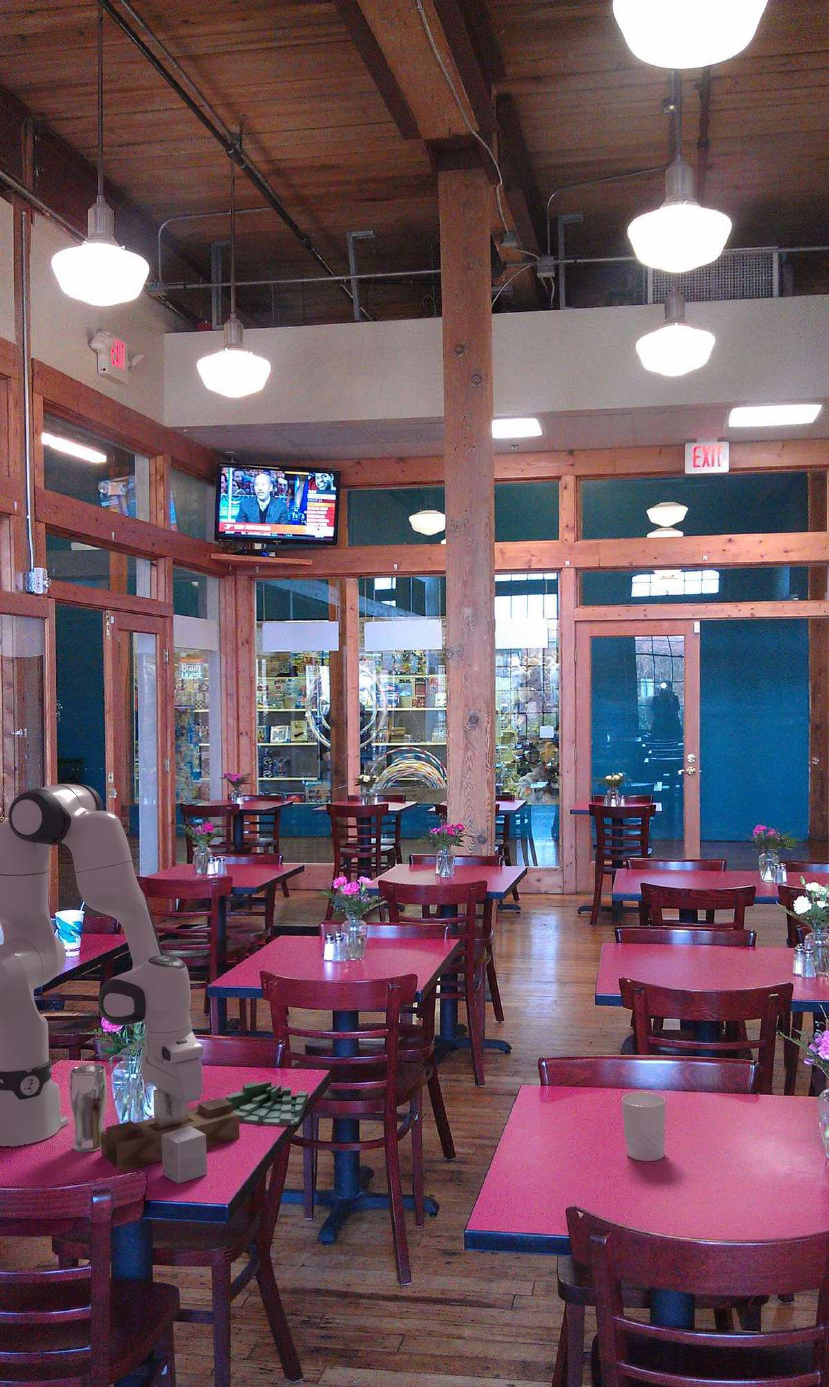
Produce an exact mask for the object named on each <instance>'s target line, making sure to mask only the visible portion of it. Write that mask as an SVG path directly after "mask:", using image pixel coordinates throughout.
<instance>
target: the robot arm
mask: <svg viewBox="0 0 829 1387" xmlns="http://www.w3.org/2000/svg"><path fill="white" fill-rule="evenodd" d="M7 818H8V819H5V820H3V821H2V822H1V823H0V926H1V930H2V935H3V942H2V943H0V1146H4V1148H6V1147H5V1146H10V1147H17V1146H18V1147H19V1145H20V1146H25V1145H24V1144H26V1145H29V1144H33V1143H34V1144H35V1143H37V1142H41V1141H43V1140H46V1139H49V1138H50V1137H52V1136H54V1135H56V1134H57V1133H58V1132H59V1130H60V1129H61V1128H62V1127H64V1126H67V1125H68V1124H69V1118H68V1116H65V1115H63V1114H62V1109H61V1108H62V1107H61V1106H62V1105H61V1098H60V1097H61V1096H60V1088H59V1087H60V1085H59V1084H58V1083H56V1082H55V1081H53V1080H52V1076H53V1075H52V1072H53V1071H52V1070H53V1065H52V1059H51V1058H50V1055H49V1054H50V1053H49V1051H50V1049H49V1048H50V1047H49V1046H50V1045H49V1023H48V1020H47V1018H46V1017H44V1015H43V1014H41V1013H40V1012H39V1010H38V1007H37V1005H36V1001H35V996H34V994H35V989H38V988H40V987H42V986H43V987H44V986H45V985H47V984H48V983H49V982H51V981H52V980H53V979H54V978H55V977H57V975H58V974H59V973H60V972H61V971H63V968H64V967H65V965H66V964H65V963H66V961H67V953H66V948H65V946H64V943H63V942H62V941H61V940H60V938H59V937H57V935H56V933H55V930H54V927H53V924H52V919H51V915H50V906H49V890H50V889H49V881H50V880H49V879H50V878H49V877H50V874H49V873H50V867H49V866H50V850H51V847H52V846H58V845H59V844H63V845H65V846H66V847H68V848H69V850H70V853H71V855H72V860H73V866H74V872H75V878H76V879H75V880H76V885H77V888H78V891H79V895H80V898H82V901H83V902H84V904H86V906H88V907H89V908H90V909H92V910H93V911H95V912H98V913H101V914H104V915H108V916H110V917H112V918H114V919H115V920H117V922H118V923H119V924H120V925H121V927H122V929H123V931H124V935H125V938H126V942H127V945H128V949H129V952H130V957H131V959H132V967H131V970H128V971H125V972H123V973H119V974H118V975H116V976H113V977H111V978H110V979H108V980H107V981H105V982H104V983H103V984H102V985H101V987H100V989H99V992H98V996H97V1005H98V1006H97V1007H98V1009H99V1012H100V1014H101V1015H102V1017H103V1018H104V1020H105V1021H107V1022H108V1023H110V1024H111V1025H114V1026H127V1025H133V1024H138V1023H142V1024H143V1025H144V1040H145V1043H144V1044H143V1045H142V1047H141V1055H140V1057H141V1058H140V1074H141V1078H142V1080H143V1081H145V1082H146V1083H148V1084H149V1085H150V1086H153V1087H155V1088H156V1090H157V1089H161V1090H162V1091H164V1092H165V1093H167V1094H169V1095H170V1096H171V1100H172V1104H171V1107H169V1111H170V1113H169V1115H170V1116H172V1117H173V1118H176V1117H180V1116H181V1106H182V1103H188V1104H189V1103H191V1102H195V1101H199V1100H200V1098H201V1096H202V1092H203V1066H202V1061H201V1059H200V1058H202V1057H204V1056H203V1055H204V1048H203V1045H202V1044H201V1043H200V1042H199V1040H198V1039H197V1038H196V1035H195V1033H194V1031H193V1027H192V1026H193V1025H192V1020H191V1016H190V1008H191V1004H192V1001H191V1000H192V997H191V983H190V982H191V981H190V975H189V969H188V967H187V964H186V963H185V962H184V961H183V960H182V959H181V958H179V957H176V956H172V955H165V954H164V950H163V948H162V944H161V941H160V938H159V935H158V931H157V927H156V924H155V920H154V917H153V913H152V910H151V907H150V904H149V902H148V899H147V897H146V895H145V893H144V892H143V890H142V888H141V887H140V884H139V881H138V879H137V875H136V872H135V867H134V863H133V858H132V854H131V850H130V849H131V848H130V845H129V841H128V838H127V835H126V832H125V829H124V827H123V824H122V822H121V820H120V818H119V817H118V815H116V814H115V813H113V812H110V811H107V810H104V804H103V799H102V798H101V796H100V794H99V793H98V792H97V791H96V790H95V789H94V788H92V787H91V786H88V785H87V784H82V783H77V782H76V783H75V782H74V783H57V784H51V785H48V786H44V787H43V786H42V787H39V788H31V789H28V790H26V791H24V792H22V793H20V794H19V795H18V796H17V797H15V799H13V801H12V802H11V804H10V806H9V808H8V813H7Z"/></svg>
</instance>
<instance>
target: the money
mask: <svg viewBox="0 0 829 1387" xmlns="http://www.w3.org/2000/svg"><path fill="white" fill-rule="evenodd" d="M224 1098H225V1100H226V1101H228V1102H230V1103H232V1104H233V1112H234V1113H236V1114H238V1115H239V1122H240V1123H241V1122H243V1123H246V1122H250V1123H249V1124H253V1123H254V1125H255V1124H256V1123H257V1124H256V1125H263V1124H267V1125H266V1126H297V1125H298V1124H299V1122H300V1119H301V1118H302V1116H303V1115H304V1113H305V1110H306V1107H308V1106H309V1091H297V1093H296V1095H292V1087H291V1086H284V1087H283V1090H282V1084H278V1085H272V1081H265V1082H261V1083H260V1082H254V1081H253V1082H248V1083H246V1084H244V1085H242V1090H240V1091H237V1092H233V1093H231V1094H228V1095H226V1096H224ZM258 1123H259V1124H258Z"/></svg>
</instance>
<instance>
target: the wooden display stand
mask: <svg viewBox="0 0 829 1387" xmlns="http://www.w3.org/2000/svg"><path fill="white" fill-rule="evenodd" d="M188 1119H189V1123H186V1124H182V1125H178V1126H175V1127H171V1128H167V1129H164V1130H160V1131H155V1130H154V1117H152V1118H149V1119H145V1120H142V1121H141V1120H140V1121H137V1122H134V1121H131V1120H129V1121H125V1122H122V1123H119V1124H114V1125H113V1124H112V1125H110V1126H106V1127H105V1130H104V1131H102V1132H101V1149H100V1150H101V1157H103V1159H105V1160H106V1161H108V1162H109V1163H111V1164H112V1165H113V1166H114V1167H115V1168H117V1169H118V1170H119V1171H120V1172H122V1173H123V1172H126V1171H130V1170H134V1169H136V1168H139V1167H144V1166H147V1165H150V1164H151V1165H152V1164H154V1163H158V1162H162V1134H165V1133H168V1132H172V1131H175V1130H178V1129H181V1128H185V1127H188V1126H191V1127H193V1128H195V1129H197V1130H198V1131H200V1132H202V1133H204V1134H206V1149H207V1148H209V1147H213V1146H216V1145H220V1144H224V1143H227V1142H230V1141H234V1140H237V1139H240V1121H239V1115H238V1114H236V1113H234V1112H233V1104H232V1103H230V1102H228V1101H226V1099H224V1098H222V1097H218V1098H214V1099H210V1100H206V1101H202V1102H198V1104H197V1106H195V1107H190V1108H188Z"/></svg>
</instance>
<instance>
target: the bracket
mask: <svg viewBox="0 0 829 1387" xmlns="http://www.w3.org/2000/svg"><path fill="white" fill-rule="evenodd" d="M152 1095H153V1118H154V1130H155V1131H160V1130H164V1129H167V1128H171V1127H175V1126H178V1125H182V1124H186V1123H189V1119H188V1109H189V1102H188V1103H182V1106H181V1116H180V1117H176V1118H173V1117H172V1116H170V1115H169V1113H170V1111H169V1107H171V1104H172V1100H171V1096H170V1095H169V1094H167V1093H165V1092H164V1091H162V1090H161V1089H157V1088H156V1089H153V1092H152Z"/></svg>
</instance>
